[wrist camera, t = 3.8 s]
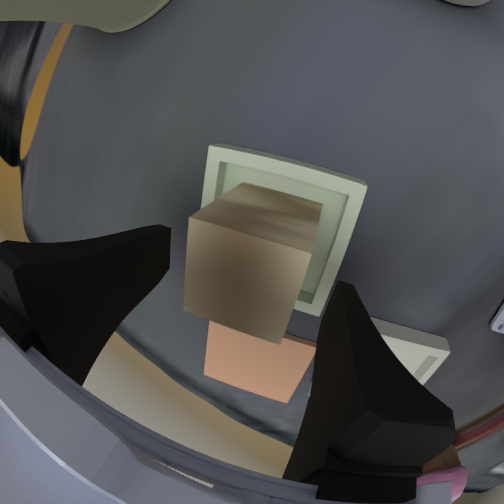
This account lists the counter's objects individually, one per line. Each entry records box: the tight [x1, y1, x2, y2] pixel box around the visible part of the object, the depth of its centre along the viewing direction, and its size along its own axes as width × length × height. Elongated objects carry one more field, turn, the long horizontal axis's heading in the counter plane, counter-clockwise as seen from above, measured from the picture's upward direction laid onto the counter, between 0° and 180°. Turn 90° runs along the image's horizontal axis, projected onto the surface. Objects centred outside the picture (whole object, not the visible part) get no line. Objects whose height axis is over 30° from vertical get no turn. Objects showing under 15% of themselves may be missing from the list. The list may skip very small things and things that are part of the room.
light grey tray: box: [309, 317, 451, 396], centre depth 17 cm, size 8×8×2 cm
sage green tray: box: [201, 143, 368, 317], centre depth 15 cm, size 8×8×2 cm
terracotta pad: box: [204, 321, 317, 403], centre depth 21 cm, size 8×8×1 cm
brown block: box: [183, 182, 323, 345], centre depth 13 cm, size 4×4×6 cm
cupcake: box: [417, 444, 467, 504], centre depth 17 cm, size 9×9×10 cm
